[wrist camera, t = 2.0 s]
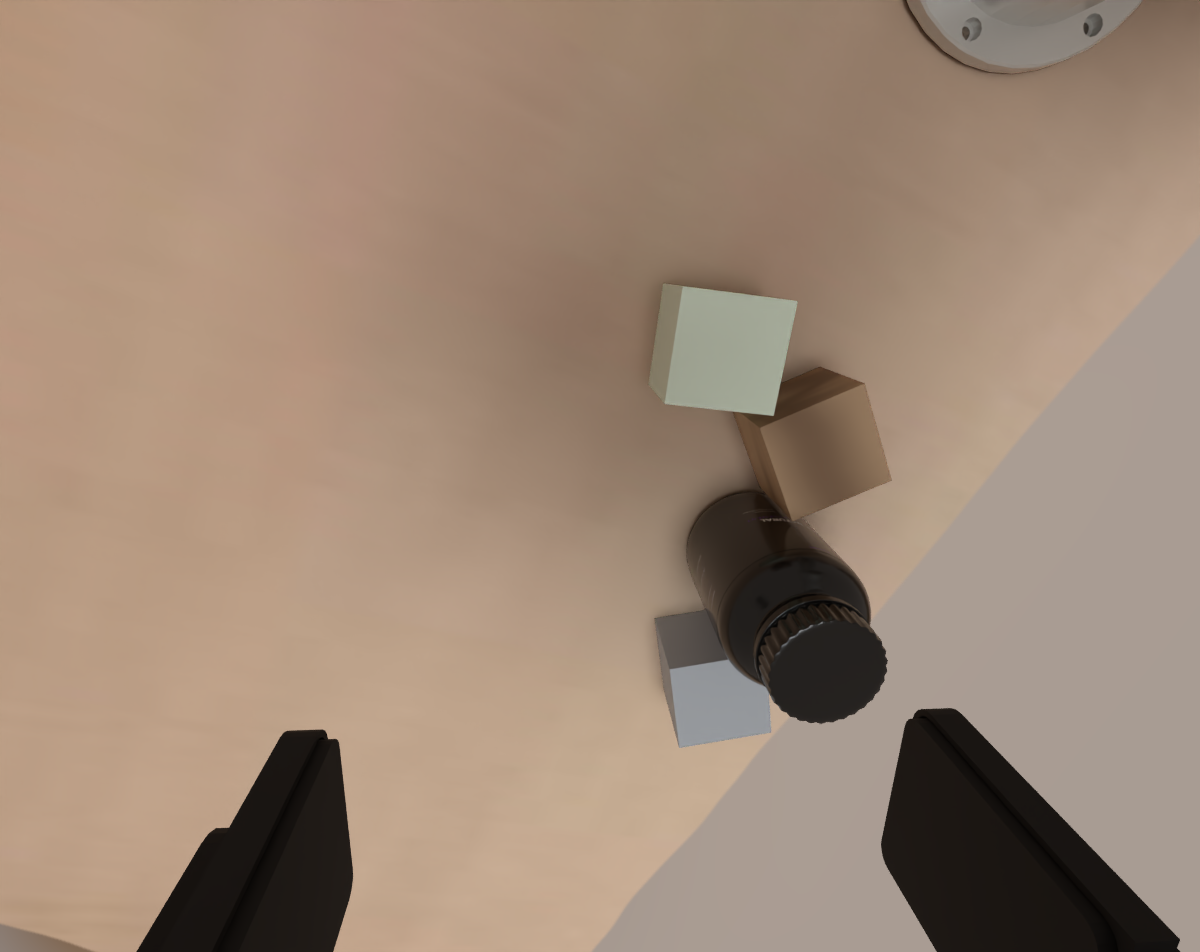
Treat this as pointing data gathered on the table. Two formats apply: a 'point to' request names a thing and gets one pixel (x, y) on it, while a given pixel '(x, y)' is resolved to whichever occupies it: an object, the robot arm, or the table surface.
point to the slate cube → (706, 684)
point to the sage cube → (720, 349)
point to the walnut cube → (815, 443)
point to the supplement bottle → (786, 608)
